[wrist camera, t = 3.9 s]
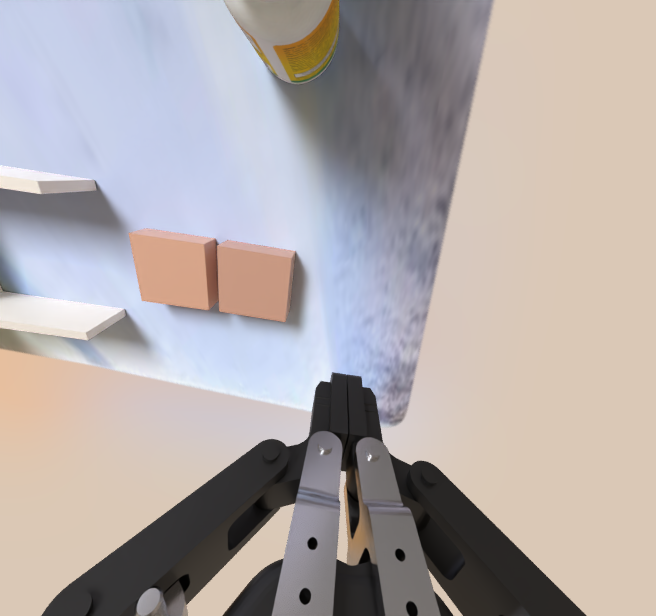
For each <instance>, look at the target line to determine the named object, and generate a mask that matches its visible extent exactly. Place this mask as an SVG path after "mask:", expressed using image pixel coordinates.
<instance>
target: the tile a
mask: <svg viewBox="0 0 656 616" xmlns="http://www.w3.org/2000/svg"><path fill="white" fill-rule="evenodd" d="M129 237H130V243H131V248H132V253H133V258H134V263H135V268H136V273H137V278H138V283H139V288H140V293H141V299H142V301H147V302H154V303H161V304H168V305H175V306H182V307H189V308H196V309H203V310H210V309H211V308H212V307H213V306H214V305H215V304H216V303H217V302H218V301H219V296H218V277H217V259H216V240H215V238H208V237H202V236H195V235H188V234H181V233H175V232H168V231H161V230H154V229H148V228H146V229H142V230H138V231H134V232H131V233H129Z"/></svg>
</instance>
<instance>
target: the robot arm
mask: <svg viewBox="0 0 656 616" xmlns="http://www.w3.org/2000/svg"><path fill="white" fill-rule="evenodd" d="M341 471H346V483H345V486H344V497H345V510H346V523H347V535H348V553H347V564H346V563H344V562H341V561H339V560H337V559H336V558H337V545H338V531H339V516H340V501H339V486H340V472H341ZM294 503H295V507H294V512H293V517H292V521H291V526H290V531H289V536H288V540H287V545H286V550H285V555H284V559H281V560H278V561H276V562H274V563H272V564H270V565H268V566H267V567H265V568H264V569H263V570H261V571H260V572H259V573H258V574H257V575H256V576H255V577H254V578H253V579H252V580H251V581H250V582H249V583H248V585H247V586H246V587H245V588H244V590H243V591H242V592H241V593H240V595H239V596H238V597H237V598H236V599H235V601H234V602H233V603H232V605H231V606H230V607H229V608H228V609H227V611H226V612H225V613H224V615H223V616H453V614H452V613H451V612H450V610H449V609H448V607H447V606H446V605H445V603H444V602H443V601H442V600H441V598H440V597H439V596H438V595H437V594H436V593H435V592H434V590H433V587H432V583H431V579H430V576H429V572H428V569H429V571H430V572H431V573H432V575H433V576H434V577H435V579H436V580H437V582H438V583H439V584H440V586H441V587H442V588H443V589H444V591H445V592H446V593H447V595H448V596H449V598H450V599H451V600H452V601H453V603H454V604H455V605H456V607H457V608H458V610H459V611H460V612H461V613H462V615H463V616H586V615H585V614H584V613H583V612H582V611H581V610H580V609H579V608H578V607H577V606H576V605H575V604H574V603H573V602H572V601H571V600H570V599H569V598H568V597H567V596H566V595H565V594H564V593H563V592H562V591H561V590H560V589H559V588H558V587H557V586H556V585H555V584H554V583H553V582H552V581H551V580H550V579H549V578H548V577H547V576H546V575H545V574H544V573H543V572H542V571H541V570H540V569H539V568H538V567H537V566H536V565H535V564H534V563H533V562H532V561H531V560H530V559H529V558H528V557H527V556H526V555H525V554H524V553H523V552H522V551H521V550H520V549H519V548H518V547H517V546H516V545H515V544H514V543H513V542H512V541H510V539H509V538H508V537H507V536H506V535H505V534H503V532H501V530H500V529H499V528H497V527H496V526H495V524H493V523H492V522H491V521H490V520H489V519H488V518H487V517H486V516H485V515H484V514H483V513H482V512H481V511H480V510H479V509H478V508H477V507H476V506H475V505H474V504H473V503H472V502H471V501H470V500H469V499H468V498H467V497H466V496H465V495H464V494H463V493H462V492H461V491H460V490H459V489H458V488H457V487H456V486H455V485H454V484H453V483H452V482H451V481H450V480H449V479H448V478H447V477H446V476H445V475H444V474H443V473H442V472H441V471H440V470H439V469H438V468H437V467H435V466H434V465H433V464H431V463H429V462H426V461H417V462H415V463H414V464H412V465H409V464H407V463H405V462H403V461H401V460H399V459H397V458H395V457H394V456H392V455H391V454H390V453H389V451H388V449H387V447H386V446H385V445H384V444H383V440H382V434H381V428H380V422H379V415H378V409H377V403H376V397H375V395H374V393H373V392H372V390H371V389H370V388H365V387H362V378H361V377H360V376H354V375H346V374H340V373H333V372H332V375H331V380H330V382H324V381H321V382H320V383H319V384H318V386H317V387H316V391H315V397H314V403H313V409H312V416H311V425H310V432H309V437H308V438H307V439H306V440H305V441H304V442H302V443H300V444H298V445H294V446H289V447H287V446H286V445H285V444H284V443H282V442H281V441H279V440H275V439H269V440H265V441H262V442H261V443H259V444H258V445H256V446H255V447H254V448H252V449H251V450H250V451H249V452H247V453H246V454H245V455H243V456H242V457H240V458H239V459H238V460H236V461H235V462H234V463H232V464H231V465H230V466H228V467H227V468H225V469H224V470H223V471H221V472H220V473H219V474H217V475H216V476H215V477H213V478H212V479H211V480H209V481H208V482H207V483H206V484H204V485H203V486H201V487H200V488H199V489H197V490H196V491H195V492H193V493H192V494H191V495H189V496H188V497H186V498H185V499H184V500H182V501H181V502H180V503H178V504H177V505H176V506H174V507H173V508H172V509H171V510H169V511H168V512H166V513H165V514H164V515H162V516H161V517H160V518H158V519H157V520H156V521H154V522H153V523H152V524H150V525H149V526H147V527H146V528H145V529H143V530H142V531H141V532H139V533H138V534H137V535H135V536H134V537H133V538H132V539H130V540H129V541H127V542H126V543H125V544H123V545H122V546H121V547H119V548H118V549H117V550H115V551H114V552H113V553H111V554H110V555H108V556H107V557H106V558H104V559H103V560H102V561H100V562H99V563H98V564H96V565H95V566H94V567H92V568H91V569H90V570H88V571H87V572H86V573H84V574H83V575H81V576H80V577H79V578H77V579H76V580H75V581H73V582H72V583H71V584H69V585H68V586H67V587H66V588H65V589H63V590H62V591H61V592H60V593H59V594H58V595H57V596H56V597H55V598H54V599H53V601H52V602H51V603H50V604H49V606H48V607H47V608H46V610H45V611H44V613H43V614H42V616H188V612H187V606H186V605H187V604H188V603H189V602H190V601H191V600H192V599H193V598H194V597H195V596H196V595H197V594H198V593H199V592H200V590H201V589H202V588H203V587H204V586H205V585H206V584H207V583H208V582H209V581H210V580H211V579H212V578H213V577H214V576H215V575H216V574H217V573H218V572H219V571H220V570H221V569H222V568H223V567H224V566H225V565H226V564H227V563H228V562H229V561H230V559H232V558H233V557H234V556H235V554H237V552H238V551H239V550H240V549H241V548H242V547H243V546H244V545H245V544H246V543H247V542H248V541H249V540H250V539H251V538H252V537H253V536H254V535H255V534H256V533H257V532H258V531H259V530H260V529H261V528H262V527H263V526H264V525H265V524H266V523H267V522H268V521H269V520H270V519H271V517H272V516H273V515H274V514H275V513H276V512H277V511H278V510H279V509H280V507H283V506H286V505H290V504H294Z"/></svg>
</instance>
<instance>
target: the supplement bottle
mask: <svg viewBox="0 0 656 616" xmlns="http://www.w3.org/2000/svg"><path fill="white" fill-rule="evenodd" d="M224 2H225V4H226V6H227V8H228V10H229V11H230V13H231V14H232V16H233V18H234V19H235V21H236V22H237V24H238V25H239V27H240V28H241V30H242V31H243V33H244V34H245V36H246V37H247V39H248V40H249V41H250V43H251V44H252V46H253V47H254V49H255V50H256V52H257V53H258V55H259V56H260V58H261V59H262V61H263V62H264V63H265V65H266V66H267V67H268V69H269V70H270V71H271V72H272V73H273V74H274V75H275V76H277V77H278V78H279V79H281V80H283V81H285V82H288V83H292V84H304V83H307V82H310V81H312V80H314V79H315V78H317V77H318V76H320V75H321V74H322V73H323V72H324V71H325V70H326V68H327V67H328V66H329V64H330V62H331V61H332V59H333V56H334V54H335V51H336V47H337V43H338V37H339V0H224Z"/></svg>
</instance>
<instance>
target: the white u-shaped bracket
mask: <svg viewBox="0 0 656 616" xmlns="http://www.w3.org/2000/svg"><path fill="white" fill-rule="evenodd" d="M0 188H4V189H11V190H17V191H24V192H30V193H37V194H52V193H67V192H83V191H97V189H96V185H95V181H94V180H92V179H85V178H79V177H72V176H66V175H59V174H53V173H46V172H40V171H33V170H27V169H20V168H14V167H7V166H1V165H0ZM125 316H126V314H125V310H124V309H122V308H115V307H108V306H101V305H94V304H87V303H80V302H73V301H66V300H59V299H52V298H45V297H39V296H32V295H25V294H18V293H11V292H4V291H3V290H2V288H1V285H0V328H5V329H12V330H19V331H26V332H33V333H40V334H47V335H54V336H61V337H68V338H75V339H82V340H90V339H91V338H93V337H94V336H96V335H97V334H99V333H100V332H102V331H103V330H105V329H106V328H108V327H110V326H111V325H113V324H114V323H116V322H117V321H119V320H120V319H122V318H123V317H125Z"/></svg>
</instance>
